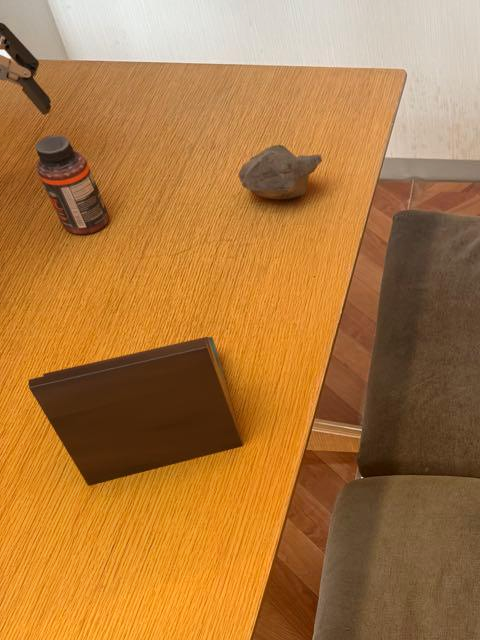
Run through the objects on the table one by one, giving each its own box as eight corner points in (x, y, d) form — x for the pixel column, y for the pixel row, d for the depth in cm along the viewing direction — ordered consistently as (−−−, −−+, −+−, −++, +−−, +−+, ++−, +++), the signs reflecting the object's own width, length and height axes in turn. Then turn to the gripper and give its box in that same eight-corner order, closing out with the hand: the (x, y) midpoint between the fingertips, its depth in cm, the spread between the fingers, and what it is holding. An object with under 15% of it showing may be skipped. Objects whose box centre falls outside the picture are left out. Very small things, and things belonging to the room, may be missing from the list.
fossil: (320, 172, 127) (309, 118, 121) (333, 208, 122) (323, 153, 116) (241, 186, 125) (226, 131, 118) (251, 223, 120) (236, 167, 113)
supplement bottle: (55, 221, 119) (17, 140, 110) (98, 204, 121) (64, 124, 112) (75, 242, 116) (38, 161, 107) (118, 225, 119) (85, 144, 110)
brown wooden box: (75, 389, 101) (20, 288, 89) (219, 356, 104) (183, 255, 93) (88, 485, 93) (28, 388, 81) (243, 445, 96) (207, 347, 85)
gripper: (-144, 6, 99) (-27, 137, 105) (-32, -38, 106) (72, 87, 112) (-144, 42, 105) (-33, 164, 110) (-38, -2, 112) (61, 115, 118)
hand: (19, 125), depth 111 cm, fingers open, 8 cm apart
